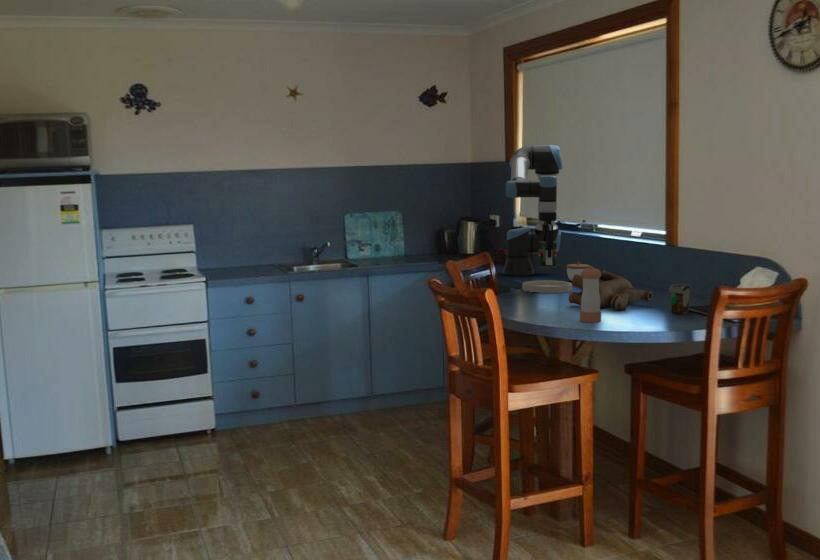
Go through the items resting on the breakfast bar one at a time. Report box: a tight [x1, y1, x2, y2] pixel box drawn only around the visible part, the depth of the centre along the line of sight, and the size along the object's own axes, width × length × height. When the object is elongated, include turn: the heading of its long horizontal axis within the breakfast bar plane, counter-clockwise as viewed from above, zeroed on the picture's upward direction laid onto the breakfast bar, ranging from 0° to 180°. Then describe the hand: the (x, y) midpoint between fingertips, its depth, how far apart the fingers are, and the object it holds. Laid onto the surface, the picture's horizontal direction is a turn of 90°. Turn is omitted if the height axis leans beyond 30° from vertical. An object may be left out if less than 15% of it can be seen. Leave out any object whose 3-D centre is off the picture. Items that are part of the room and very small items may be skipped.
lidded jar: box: [566, 261, 591, 283], centre depth 399 cm, size 11×11×9 cm
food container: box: [668, 283, 691, 316], centre depth 312 cm, size 12×6×10 cm, turn 150°
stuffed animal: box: [568, 269, 654, 311], centre depth 330 cm, size 13×31×25 cm
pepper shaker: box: [579, 265, 602, 323], centre depth 296 cm, size 7×7×19 cm
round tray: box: [521, 279, 573, 294], centre depth 374 cm, size 21×21×3 cm
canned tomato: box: [537, 241, 558, 269], centre depth 372 cm, size 8×8×11 cm
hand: (547, 263), depth 372 cm, fingers closed on canned tomato, 8 cm apart
